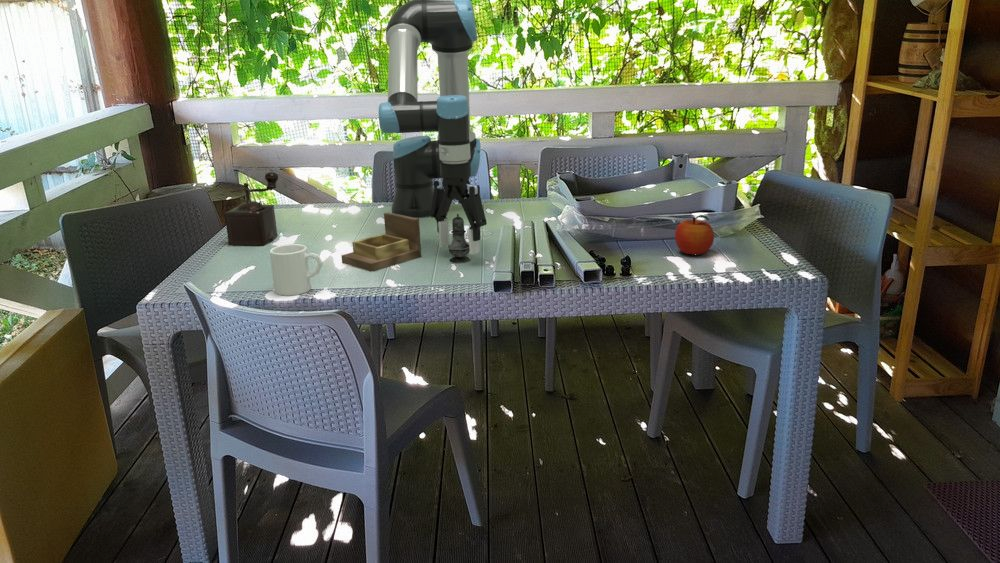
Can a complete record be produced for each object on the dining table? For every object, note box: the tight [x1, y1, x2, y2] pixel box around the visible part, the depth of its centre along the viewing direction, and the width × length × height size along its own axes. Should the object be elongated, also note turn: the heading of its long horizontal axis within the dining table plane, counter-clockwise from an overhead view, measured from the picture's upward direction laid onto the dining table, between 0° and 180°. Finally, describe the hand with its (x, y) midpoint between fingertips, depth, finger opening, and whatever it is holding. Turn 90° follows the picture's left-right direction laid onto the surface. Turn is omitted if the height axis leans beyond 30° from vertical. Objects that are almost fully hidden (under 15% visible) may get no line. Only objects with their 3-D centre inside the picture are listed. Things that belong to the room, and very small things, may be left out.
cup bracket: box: [340, 211, 422, 272], centre depth 205 cm, size 16×12×10 cm
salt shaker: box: [446, 213, 471, 264], centre depth 202 cm, size 6×6×12 cm
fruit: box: [674, 214, 715, 256], centre depth 202 cm, size 10×10×10 cm
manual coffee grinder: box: [224, 171, 279, 247], centre depth 227 cm, size 16×11×18 cm
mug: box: [269, 243, 324, 297], centre depth 183 cm, size 8×12×10 cm
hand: (459, 249), depth 203 cm, fingers open, 10 cm apart
